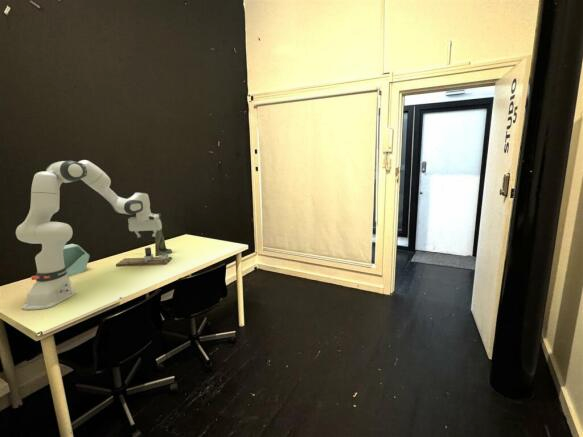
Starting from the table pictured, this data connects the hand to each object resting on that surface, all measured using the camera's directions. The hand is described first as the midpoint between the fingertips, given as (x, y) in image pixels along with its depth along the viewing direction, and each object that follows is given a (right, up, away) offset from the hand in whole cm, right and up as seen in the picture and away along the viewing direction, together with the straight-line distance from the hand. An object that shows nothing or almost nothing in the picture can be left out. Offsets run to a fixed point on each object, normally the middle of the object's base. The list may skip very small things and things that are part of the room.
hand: (146, 237), depth 201 cm
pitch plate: (-3, -17, +3) cm, 18 cm away
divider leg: (0, -16, +2) cm, 16 cm away
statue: (+2, -14, +22) cm, 26 cm away
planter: (-40, -22, -14) cm, 47 cm away
